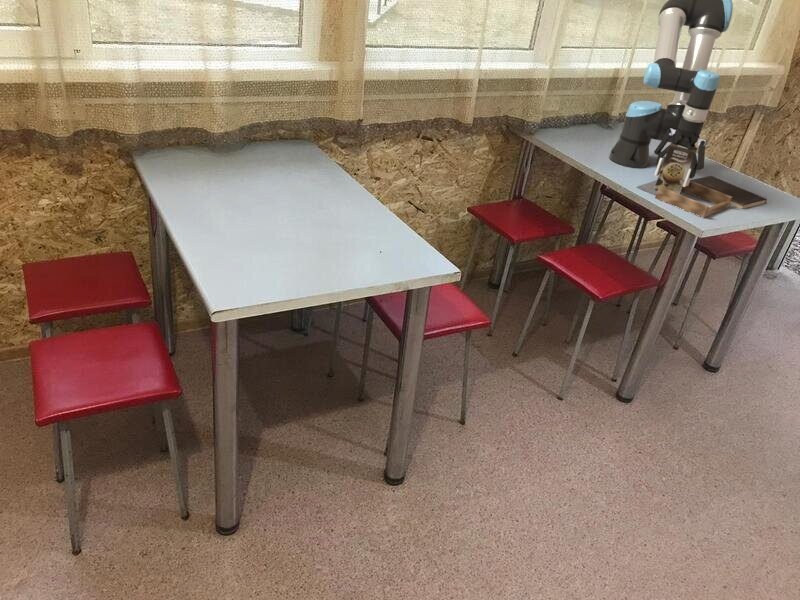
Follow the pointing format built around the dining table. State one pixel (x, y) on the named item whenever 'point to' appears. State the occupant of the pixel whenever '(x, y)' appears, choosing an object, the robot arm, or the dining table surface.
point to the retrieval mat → (649, 187)
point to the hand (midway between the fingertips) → (670, 180)
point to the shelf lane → (692, 205)
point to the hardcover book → (732, 192)
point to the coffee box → (675, 168)
